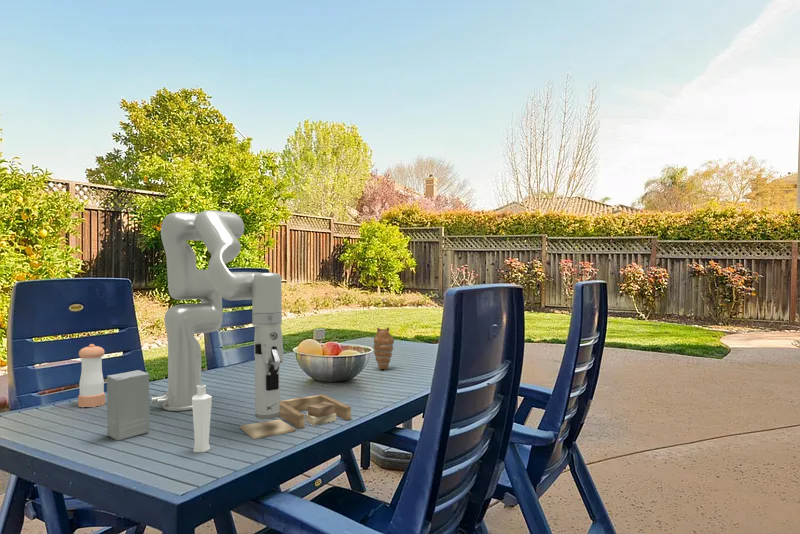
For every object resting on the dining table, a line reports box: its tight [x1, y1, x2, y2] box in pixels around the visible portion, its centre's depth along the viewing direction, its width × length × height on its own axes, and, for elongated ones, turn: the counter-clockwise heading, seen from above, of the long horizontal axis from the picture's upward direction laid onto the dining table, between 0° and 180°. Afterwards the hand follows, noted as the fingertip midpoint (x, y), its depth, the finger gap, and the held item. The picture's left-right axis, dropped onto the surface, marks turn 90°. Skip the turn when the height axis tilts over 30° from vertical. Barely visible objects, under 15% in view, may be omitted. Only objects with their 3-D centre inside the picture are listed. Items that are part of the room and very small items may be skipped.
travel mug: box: [254, 344, 281, 420], centre depth 137 cm, size 6×7×20 cm
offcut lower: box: [305, 412, 337, 426], centre depth 145 cm, size 7×5×2 cm
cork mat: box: [239, 418, 296, 440], centre depth 137 cm, size 11×11×1 cm
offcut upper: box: [307, 402, 335, 418], centre depth 144 cm, size 6×4×2 cm
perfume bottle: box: [192, 384, 213, 453], centre depth 122 cm, size 5×4×15 cm
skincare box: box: [106, 369, 150, 441], centre depth 133 cm, size 8×7×16 cm
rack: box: [278, 394, 352, 430], centre depth 149 cm, size 16×18×4 cm
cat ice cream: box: [372, 326, 395, 370], centre depth 219 cm, size 9×8×18 cm
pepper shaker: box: [77, 343, 106, 408], centre depth 163 cm, size 7×7×19 cm
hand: (267, 386), depth 137 cm, fingers closed on travel mug, 6 cm apart
